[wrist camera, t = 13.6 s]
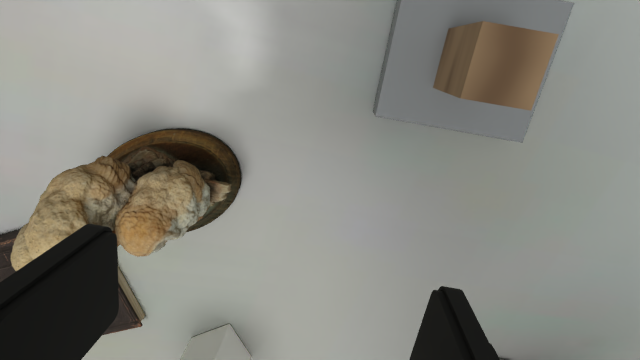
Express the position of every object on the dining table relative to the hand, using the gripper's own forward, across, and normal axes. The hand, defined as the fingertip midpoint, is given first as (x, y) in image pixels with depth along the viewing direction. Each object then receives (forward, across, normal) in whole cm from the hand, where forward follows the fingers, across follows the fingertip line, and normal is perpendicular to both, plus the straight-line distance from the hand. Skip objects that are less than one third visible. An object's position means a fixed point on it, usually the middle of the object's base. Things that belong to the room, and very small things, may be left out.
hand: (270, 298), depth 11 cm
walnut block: (+25, -12, -8) cm, 29 cm away
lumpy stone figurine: (+29, +16, +10) cm, 34 cm away
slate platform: (+28, -12, -8) cm, 32 cm away
